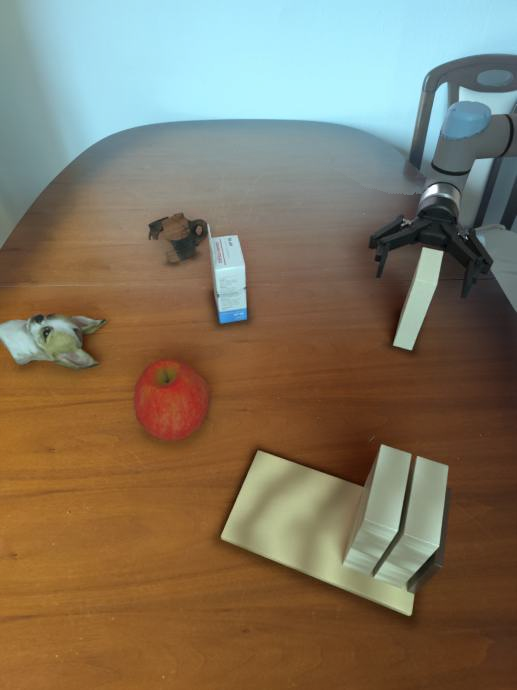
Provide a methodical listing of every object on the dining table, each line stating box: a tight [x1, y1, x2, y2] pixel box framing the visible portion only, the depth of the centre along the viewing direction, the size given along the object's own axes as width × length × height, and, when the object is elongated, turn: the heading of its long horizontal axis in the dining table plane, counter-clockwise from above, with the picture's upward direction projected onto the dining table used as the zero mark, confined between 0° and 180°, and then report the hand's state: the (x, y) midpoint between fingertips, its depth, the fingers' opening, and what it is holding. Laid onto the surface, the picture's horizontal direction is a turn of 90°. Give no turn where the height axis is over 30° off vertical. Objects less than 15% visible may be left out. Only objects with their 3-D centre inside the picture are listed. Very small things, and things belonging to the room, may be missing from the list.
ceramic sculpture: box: [0, 313, 108, 371], centre depth 69 cm, size 11×9×15 cm
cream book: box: [392, 246, 444, 351], centre depth 70 cm, size 3×8×14 cm, turn 159°
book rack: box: [220, 443, 452, 617], centre depth 49 cm, size 22×12×15 cm, turn 69°
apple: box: [133, 358, 211, 442], centre depth 61 cm, size 10×10×10 cm
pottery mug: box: [147, 212, 208, 264], centre depth 89 cm, size 12×10×8 cm
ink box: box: [207, 223, 248, 324], centre depth 74 cm, size 9×5×15 cm, turn 10°
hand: (421, 281), depth 72 cm, fingers open, 13 cm apart
